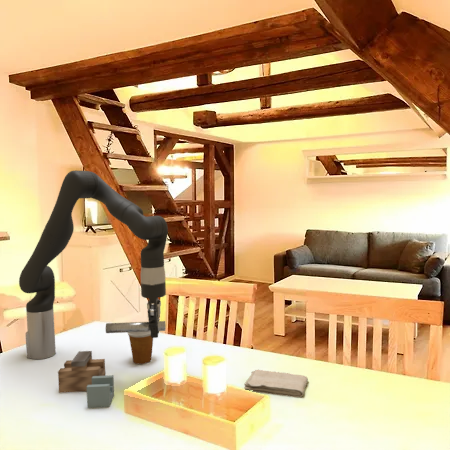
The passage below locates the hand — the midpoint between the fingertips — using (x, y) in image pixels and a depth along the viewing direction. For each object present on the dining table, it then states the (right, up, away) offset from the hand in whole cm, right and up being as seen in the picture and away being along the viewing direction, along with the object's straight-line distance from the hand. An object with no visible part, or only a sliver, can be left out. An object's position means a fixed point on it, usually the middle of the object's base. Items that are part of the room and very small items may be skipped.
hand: (155, 335), depth 139 cm
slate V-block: (-14, -16, -11) cm, 24 cm away
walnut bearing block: (-22, -16, 0) cm, 27 cm away
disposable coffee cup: (-8, -14, +19) cm, 25 cm away
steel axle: (-6, +1, 0) cm, 6 cm away
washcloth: (+37, -15, -3) cm, 41 cm away
